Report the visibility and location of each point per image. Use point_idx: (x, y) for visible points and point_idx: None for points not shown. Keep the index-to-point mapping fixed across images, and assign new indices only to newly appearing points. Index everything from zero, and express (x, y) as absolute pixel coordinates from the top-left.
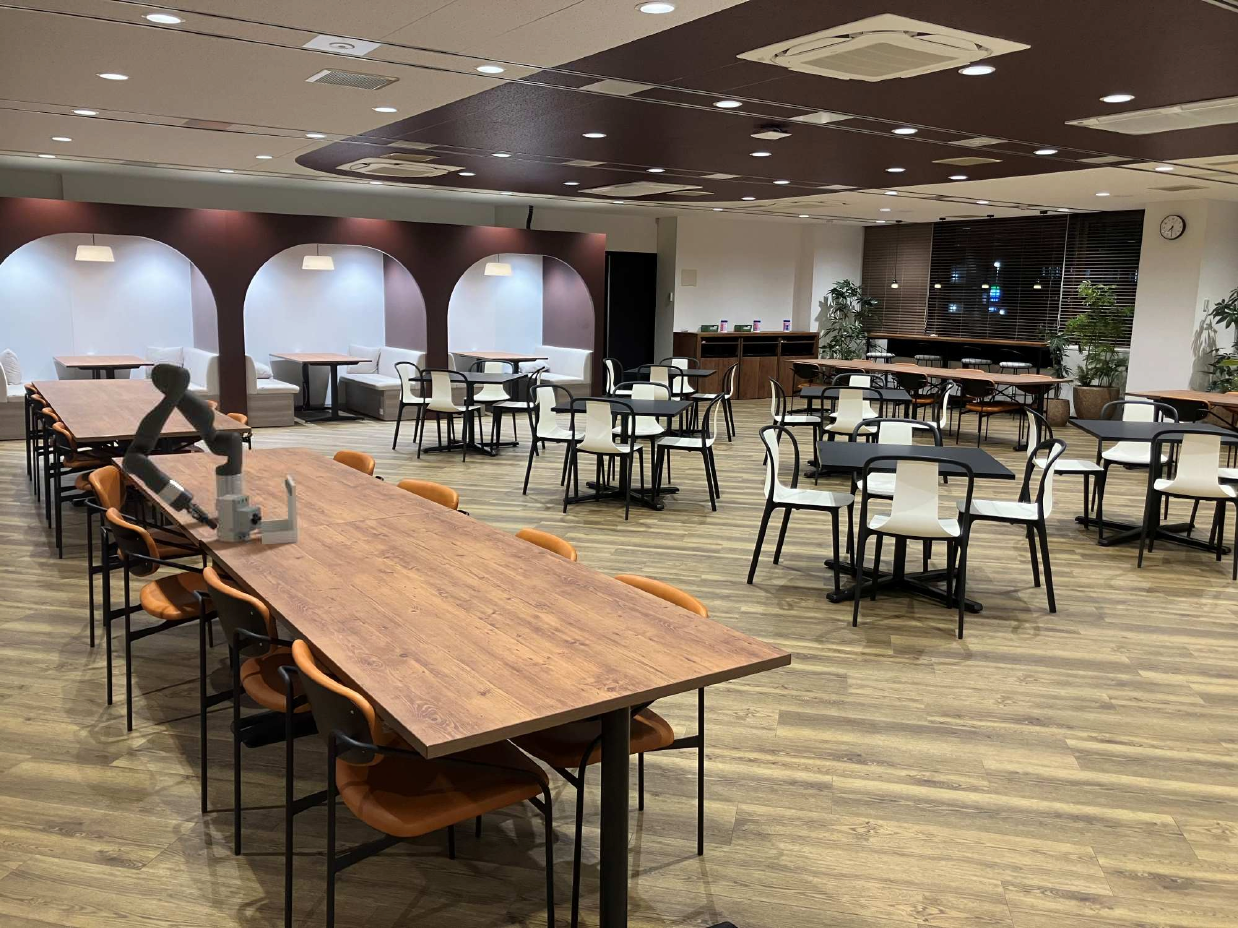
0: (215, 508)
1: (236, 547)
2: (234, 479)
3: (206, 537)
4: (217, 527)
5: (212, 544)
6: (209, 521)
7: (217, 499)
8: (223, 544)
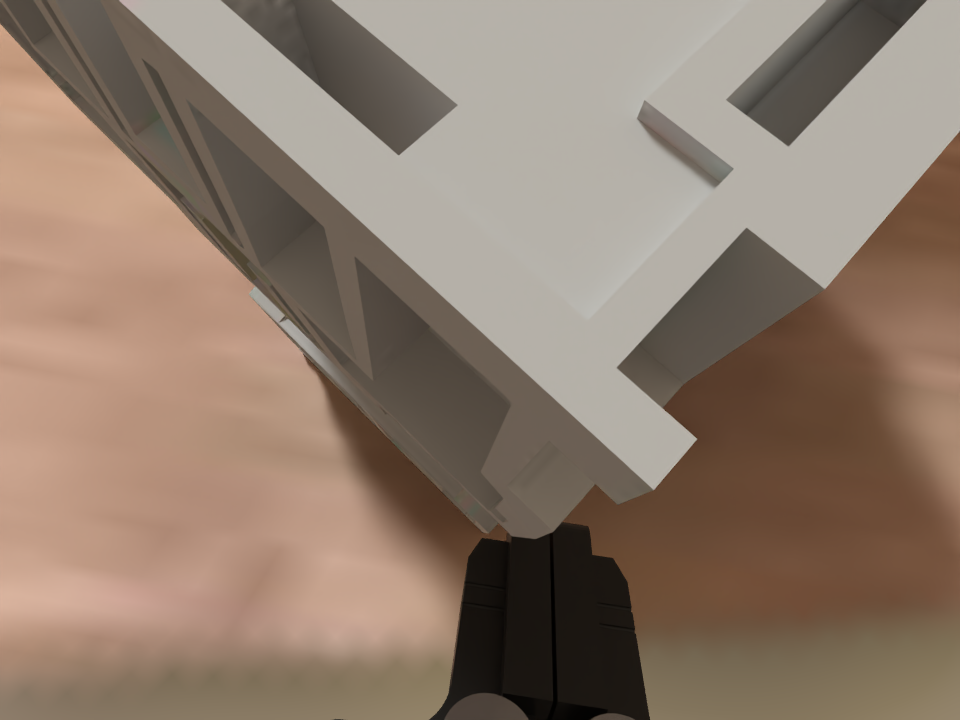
0: (514, 534)
1: (905, 399)
2: None
3: (238, 626)
4: (473, 513)
5: (658, 624)
6: (647, 715)
7: (614, 358)
8: (710, 501)
